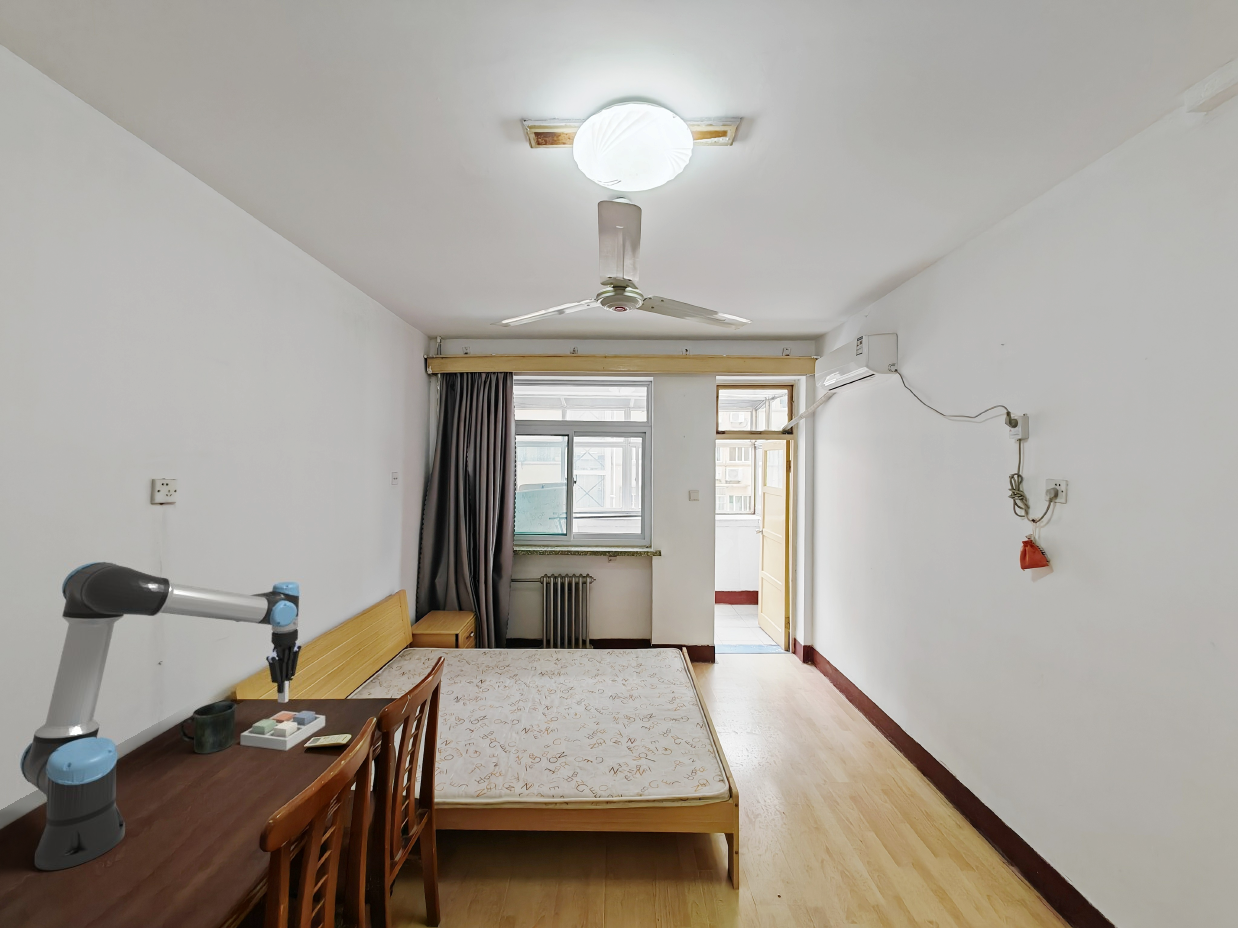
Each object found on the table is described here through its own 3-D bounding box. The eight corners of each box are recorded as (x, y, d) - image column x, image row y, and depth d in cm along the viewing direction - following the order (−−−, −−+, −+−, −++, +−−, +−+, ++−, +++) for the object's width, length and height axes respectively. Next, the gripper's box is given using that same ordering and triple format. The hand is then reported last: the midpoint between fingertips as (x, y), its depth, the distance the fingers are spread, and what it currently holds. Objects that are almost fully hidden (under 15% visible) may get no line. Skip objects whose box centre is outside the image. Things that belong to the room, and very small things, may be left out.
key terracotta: (283, 729, 185) (284, 719, 185) (272, 727, 186) (272, 718, 186) (294, 722, 190) (294, 713, 190) (282, 721, 191) (283, 712, 191)
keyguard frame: (286, 750, 174) (286, 739, 174) (240, 744, 177) (240, 733, 177) (325, 725, 190) (325, 715, 190) (282, 720, 193) (282, 710, 193)
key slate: (304, 727, 184) (304, 717, 184) (292, 725, 185) (292, 716, 185) (314, 720, 188) (315, 711, 188) (303, 719, 189) (303, 710, 189)
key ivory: (286, 738, 176) (286, 729, 176) (273, 737, 177) (273, 727, 177) (297, 731, 181) (297, 722, 181) (284, 730, 181) (284, 721, 181)
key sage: (264, 736, 178) (264, 726, 178) (252, 734, 178) (252, 724, 178) (275, 729, 182) (276, 719, 182) (263, 727, 183) (264, 718, 183)
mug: (232, 750, 173) (232, 712, 173) (174, 760, 167) (174, 720, 167) (239, 735, 183) (239, 698, 183) (184, 743, 177) (185, 706, 177)
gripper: (279, 636, 176) (277, 710, 175) (309, 625, 189) (307, 694, 188) (259, 634, 177) (257, 708, 177) (289, 623, 190) (287, 692, 189)
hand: (283, 701), depth 182 cm, fingers closed
